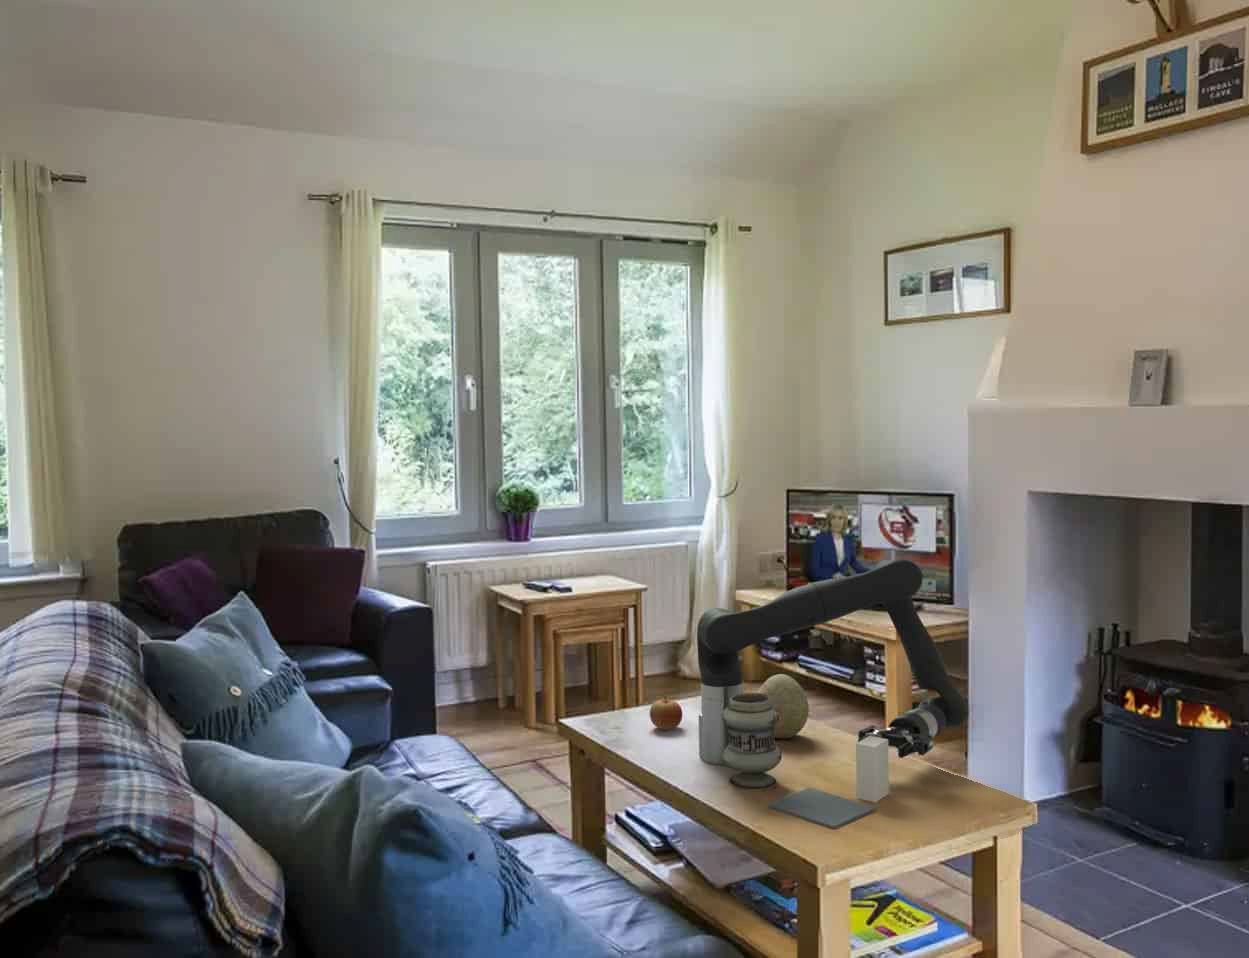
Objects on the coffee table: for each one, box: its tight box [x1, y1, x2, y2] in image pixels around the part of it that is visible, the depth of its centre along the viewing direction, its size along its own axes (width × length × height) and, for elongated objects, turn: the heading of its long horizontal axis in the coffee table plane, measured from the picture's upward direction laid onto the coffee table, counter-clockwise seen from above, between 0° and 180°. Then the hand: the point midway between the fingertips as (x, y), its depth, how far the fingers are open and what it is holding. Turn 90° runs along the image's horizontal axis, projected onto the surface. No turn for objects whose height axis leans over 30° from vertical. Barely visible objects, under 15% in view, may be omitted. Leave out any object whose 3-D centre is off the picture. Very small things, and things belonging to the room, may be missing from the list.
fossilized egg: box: [757, 673, 810, 740], centre depth 248 cm, size 13×13×15 cm
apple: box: [649, 695, 683, 730], centre depth 258 cm, size 8×8×8 cm
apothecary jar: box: [722, 692, 783, 792], centre depth 218 cm, size 12×12×18 cm
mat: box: [766, 786, 877, 829], centre depth 203 cm, size 16×13×1 cm
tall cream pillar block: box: [855, 736, 890, 803], centre depth 209 cm, size 4×6×11 cm, turn 141°
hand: (880, 749), depth 211 cm, fingers open, 8 cm apart
